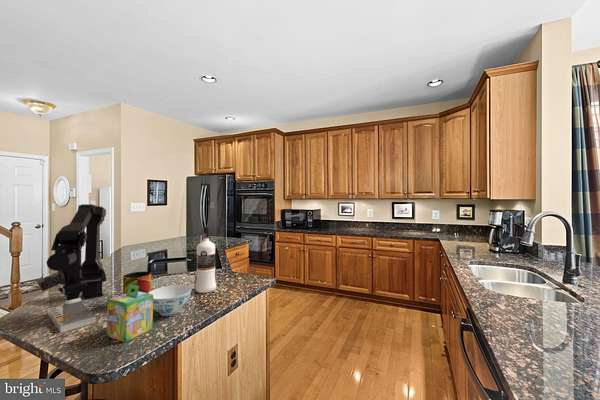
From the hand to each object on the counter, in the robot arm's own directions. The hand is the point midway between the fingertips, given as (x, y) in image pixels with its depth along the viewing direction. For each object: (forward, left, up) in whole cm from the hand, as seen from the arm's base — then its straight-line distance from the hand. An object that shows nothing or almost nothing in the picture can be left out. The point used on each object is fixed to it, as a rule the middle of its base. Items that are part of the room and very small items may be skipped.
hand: (70, 307), depth 91 cm
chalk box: (-9, +29, -4) cm, 31 cm away
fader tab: (0, +3, -1) cm, 3 cm away
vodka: (-46, +12, -4) cm, 48 cm away
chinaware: (-24, +23, -4) cm, 34 cm away
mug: (-20, +3, -4) cm, 21 cm away
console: (0, 0, -4) cm, 4 cm away
